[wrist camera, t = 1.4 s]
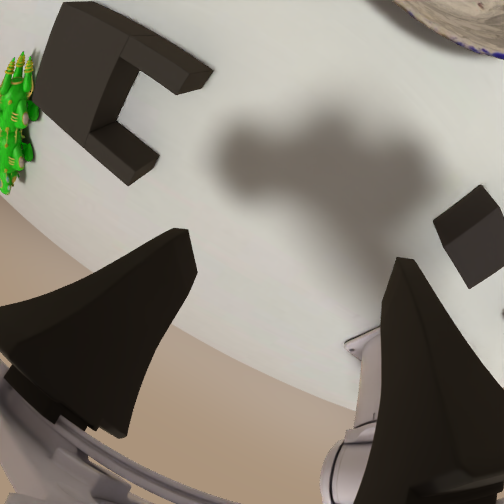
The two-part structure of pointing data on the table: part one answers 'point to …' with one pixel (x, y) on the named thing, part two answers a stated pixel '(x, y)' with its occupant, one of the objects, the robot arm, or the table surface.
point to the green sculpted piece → (15, 121)
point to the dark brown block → (473, 236)
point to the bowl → (463, 22)
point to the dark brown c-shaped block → (107, 81)
